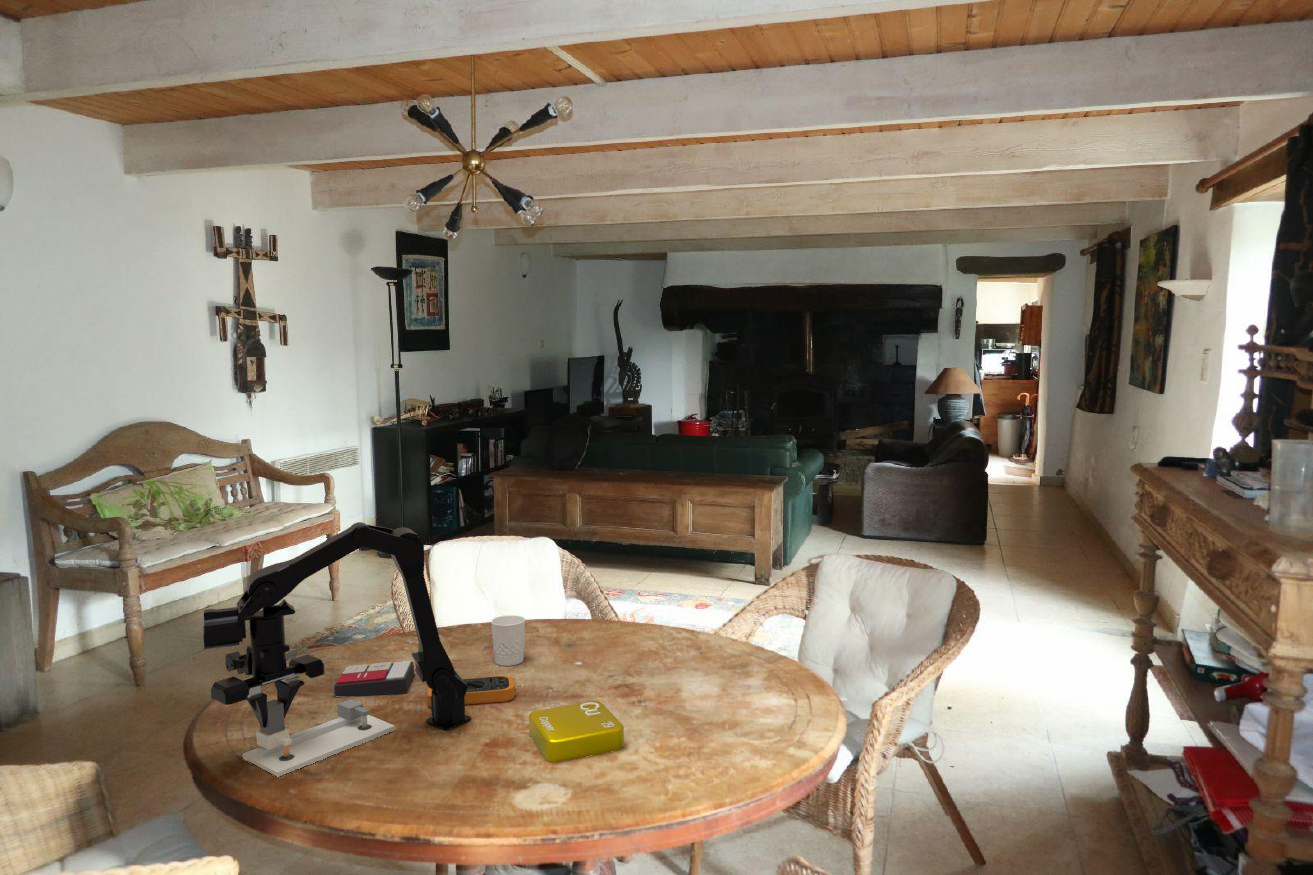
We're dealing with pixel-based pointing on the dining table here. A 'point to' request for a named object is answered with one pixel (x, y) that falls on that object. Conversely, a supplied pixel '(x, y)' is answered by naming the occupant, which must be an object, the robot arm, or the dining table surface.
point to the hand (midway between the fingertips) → (272, 724)
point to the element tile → (575, 731)
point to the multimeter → (486, 690)
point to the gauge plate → (322, 740)
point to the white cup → (508, 639)
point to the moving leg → (274, 729)
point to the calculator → (375, 679)
